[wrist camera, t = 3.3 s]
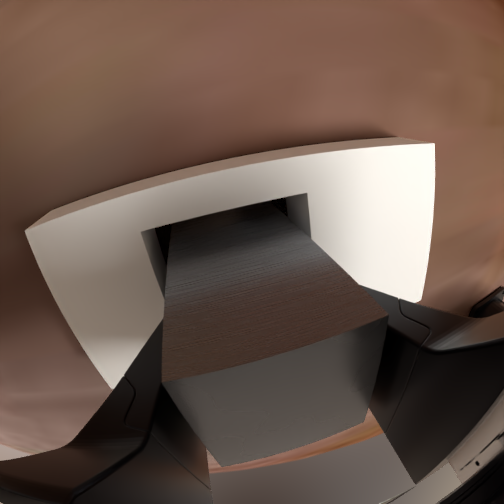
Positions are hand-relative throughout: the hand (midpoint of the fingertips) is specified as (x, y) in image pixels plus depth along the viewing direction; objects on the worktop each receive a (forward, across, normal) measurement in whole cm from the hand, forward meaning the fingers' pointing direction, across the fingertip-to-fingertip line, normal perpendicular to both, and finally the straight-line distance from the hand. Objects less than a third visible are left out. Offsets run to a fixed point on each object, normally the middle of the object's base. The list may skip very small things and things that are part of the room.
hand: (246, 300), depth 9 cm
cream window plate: (+4, -1, 0) cm, 4 cm away
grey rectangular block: (+4, 0, 0) cm, 4 cm away
